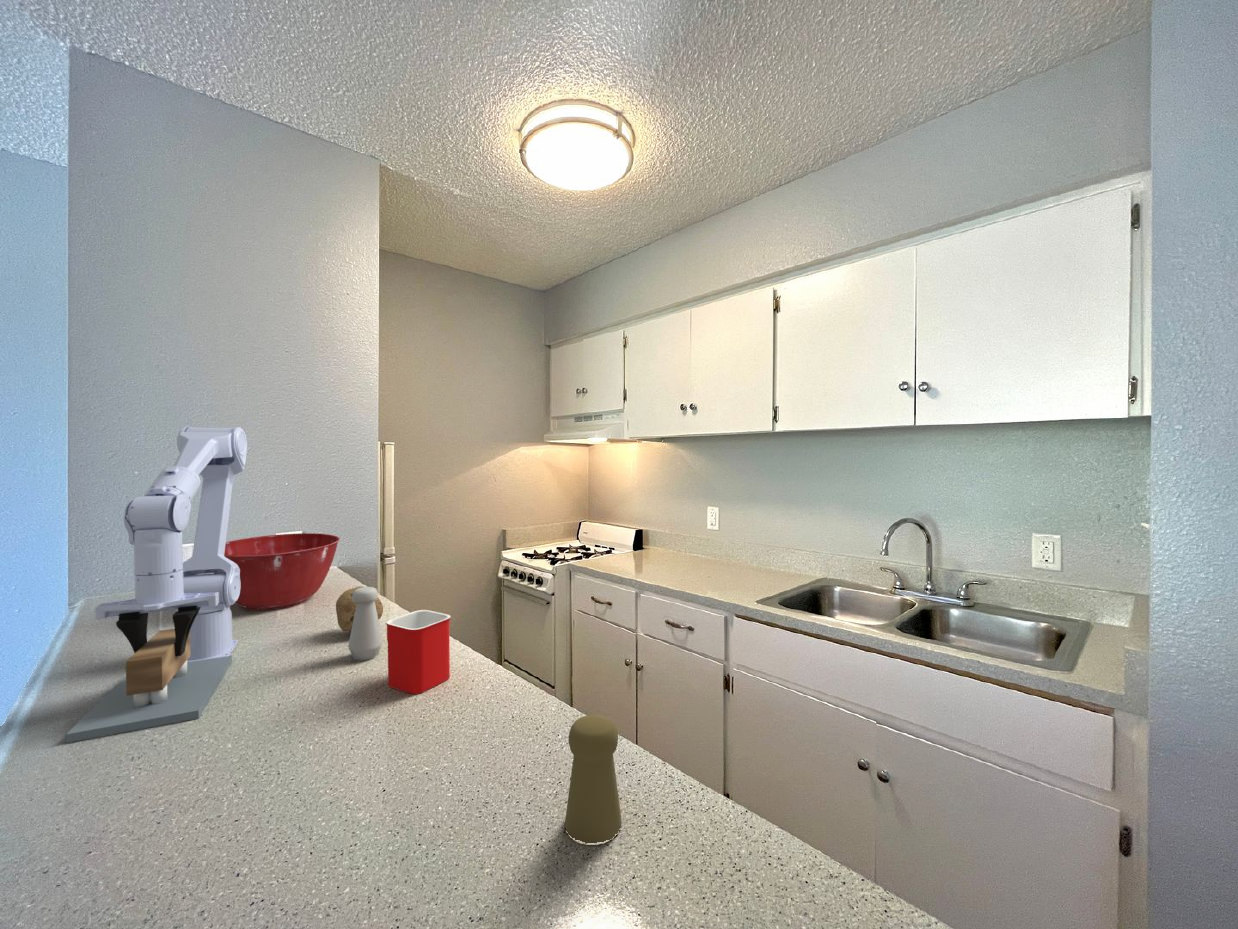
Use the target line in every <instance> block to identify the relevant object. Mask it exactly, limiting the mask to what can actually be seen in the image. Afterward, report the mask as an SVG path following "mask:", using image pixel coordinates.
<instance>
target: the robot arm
mask: <svg viewBox="0 0 1238 929" xmlns="http://www.w3.org/2000/svg"><path fill="white" fill-rule="evenodd" d="M176 445H177V450H178V452H179V454H178V456H177V458H176V460H175V462H174V465H171V466H168V467H165V468H164V469H162V470H161V471H160V472H159V474H158V475H157V476H156V478H155V479H154V481H153V482H152V484H151V485H150V486H149V487H148V489H147V491H146V492H145V493H144V495H142V496H141V495H140V496H139V495H138V496H137V497H135V498H134V499H131V500H130V501H128V502H127V503H126V506H125V509H124V513H123V514H124V515H123V523H124V524H123V525H124V527H125V529H126V531H127V533H128V542H129V545H133V562H134V563H133V564H134V565H133V566H134V567H133V568H134V597H135V598H133V599H132V598H131V599H126V600H125V599H124V600H118V601H112V602H111V601H110V602H103V603H100V604H98V605H96V606H95V608H94V610H95V611H94V612H95V620H104V619H107V618H112V617H118V620H117V621H115V625H116V628H118V630H119V631H120V632H122V634H123V635H124V636H125V638H126V639H127V641H128V642H129V644H130V646H131V648H132V650H133V653H134V654H135V653H136V652H137V651H138V650H139V649H140V648H141V647H142V646H143V645H144V644H146V643H147V642H148V633H147V632H148V621H149V614H150V613H157V612H167V611H168V612H169V611H174V610H175V611H176V612H174V613H173V614H172V621H173V625H174V626H173V629H175V655H176V656H181V655H182V654H183V653H184V652H185V647H186V642H187V638H188V635H189V632H190V654H191V656H190V657H189V658H188V659H187V662H193V661H199V660H206V659H213V658H220V657H227V656H231V654H232V653H233V650H234V649H235V648H236V646H237V644H238V642H239V639H233V615H232V610H231V606H232V605H234V604H236V603H235V602H236V601H237V599H238V597H239V594H240V588H241V583H240V569H239V567H238V565H237V564H236V563H234V562H233V561H231V560H229V559H228V558H226V557H225V556H224V553H225V544H226V542H227V536H228V528H229V527H228V526H229V519H230V517H229V516H230V511H231V510H230V509H231V501H232V493H233V487H234V486H233V485H234V481H235V477H236V475H239V473H241V472H243V471H244V470H245V466H246V463H247V462H246V461H247V454H248V439H247V436H246V432H245V430H244V429H243V428H242V427H239V426H235V427H203V426H202V427H201V426H200V427H199V426H197V427H194V426H188V425H187V426H184V427H182V428H181V429H180V430H179V431H178V433H177V438H176ZM200 476H201V477H202V483H201V478H200ZM201 484H202V485H201ZM200 487H201V493H200V497H199V498H200V499H199V505H198V513H197V519H196V520H197V521H196V527H195V535H194V543H193V549H192V555H191V557H189V558H188V559H187V560H185V561H184V554H183V553H184V552H183V543H184V542H183V530H185V529H186V528H187V526H188V524H189V521H190V515H191V514H190V513H191V512H192V511H191V510H192V503H191V502H192V500H193V499H194V498H195V495H196V494H197V491H198V490H199V488H200ZM221 572H226V573H221ZM214 573H215V574H214Z"/></svg>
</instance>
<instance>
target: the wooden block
mask: <svg viewBox="0 0 1238 929" xmlns="http://www.w3.org/2000/svg"><path fill="white" fill-rule="evenodd" d="M190 656H191V654H190V632H189V635H188V638H187V642H186V647H185V652H184V653H183V654H182V655H181V656H176V655H175V628H171V629H170V628H169V629H163V630H161V629H160V630H158V632H156V633H155V634H154V635H153V636H152V637H151V638H150V639H149V640H147V643H146V644H144V645H143V646H142V647H141V648H140V649H139V650H138V651H137V652H136V653H134V654H132V655H131V656H130V657H128V659H127V660H126V661H125V677H126V690H127V696H128V695H135V694H141V693H147V692H153V691H159V690H163V689H164V688H165V686H166V685H167V684H168V683H169V681H170V680H171V679H172V678H173V677H174V675H175V674H176V673H177V672H178V670H179V669H180V668H181V667H182V665H183V664H184V663H185V662H186V661H187V659H188V658H189V657H190Z"/></svg>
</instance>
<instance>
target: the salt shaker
mask: <svg viewBox="0 0 1238 929" xmlns="http://www.w3.org/2000/svg"><path fill="white" fill-rule="evenodd" d="M378 592H379V591H378V589H377V588H375V587H373V586H362V588H359V589H356V590H355V591H354V592H353V595H352V599H353V602H354V603H357V605H356V610H355V615H354V620H353V625H352V630H351V634H350V635H349V640H348V645H347V647H348V650H349V651H350V654H351V655H352V658H353V659H354V661H360V662H362V661H363V662H364V661H369V660H372V659H375V658H376V657H377V656H378V655H379V654H380V650H381V648H382V645H383V637H382V632H381V631H382V630H381V627H380V621H379V620H378V616H377V611H376V606H375V600H376V599H377V598H379V593H378Z"/></svg>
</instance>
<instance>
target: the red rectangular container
mask: <svg viewBox="0 0 1238 929" xmlns="http://www.w3.org/2000/svg"><path fill="white" fill-rule="evenodd" d="M450 621H451V615H450V614H447V613H443V612H438V611H433V610H429V609H419V610H414V611H412V612H409V613H406V614H403V615H399V616H397V617H396V616H395V617H394V618H391V619H388V620H386V621H385V624H386V642H387V676H388V677H387V681H388V682H387V683H388V686H389V687H391V688H393V689H395V690H398V691H401V692H405V693H407V694H410V695H417V694H418V695H420V694H422V693H425V692H427V691H429V690H431V689H433V688H434V687H437V686H439V685H440V684H442V683H444V682H446V681H448V680H449V679H450V674H451V673H450V671H451V670H450V666H451V665H450V664H451V662H450Z"/></svg>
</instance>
